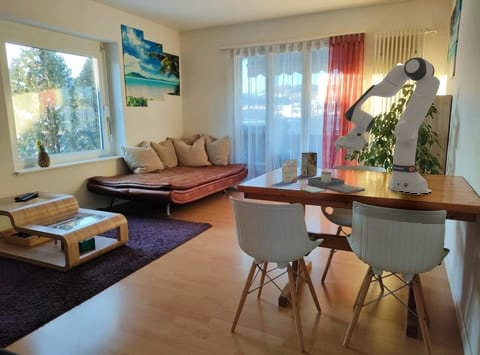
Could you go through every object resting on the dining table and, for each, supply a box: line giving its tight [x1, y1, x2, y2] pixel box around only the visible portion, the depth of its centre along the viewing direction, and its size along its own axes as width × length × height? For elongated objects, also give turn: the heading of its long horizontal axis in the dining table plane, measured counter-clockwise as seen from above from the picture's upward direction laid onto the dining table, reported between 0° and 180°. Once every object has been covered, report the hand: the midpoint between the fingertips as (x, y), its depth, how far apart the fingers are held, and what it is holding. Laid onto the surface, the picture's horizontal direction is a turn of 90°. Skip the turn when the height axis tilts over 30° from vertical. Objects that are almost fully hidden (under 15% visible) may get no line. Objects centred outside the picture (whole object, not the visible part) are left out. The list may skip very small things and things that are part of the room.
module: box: [320, 170, 333, 182], centre depth 206 cm, size 4×4×8 cm
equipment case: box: [307, 176, 366, 194], centre depth 200 cm, size 30×15×4 cm, turn 32°
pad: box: [300, 186, 327, 194], centre depth 192 cm, size 10×10×1 cm
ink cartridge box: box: [281, 158, 298, 184], centre depth 214 cm, size 9×5×15 cm, turn 112°
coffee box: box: [300, 151, 318, 177], centre depth 236 cm, size 9×6×16 cm
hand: (341, 153), depth 210 cm, fingers open, 8 cm apart
